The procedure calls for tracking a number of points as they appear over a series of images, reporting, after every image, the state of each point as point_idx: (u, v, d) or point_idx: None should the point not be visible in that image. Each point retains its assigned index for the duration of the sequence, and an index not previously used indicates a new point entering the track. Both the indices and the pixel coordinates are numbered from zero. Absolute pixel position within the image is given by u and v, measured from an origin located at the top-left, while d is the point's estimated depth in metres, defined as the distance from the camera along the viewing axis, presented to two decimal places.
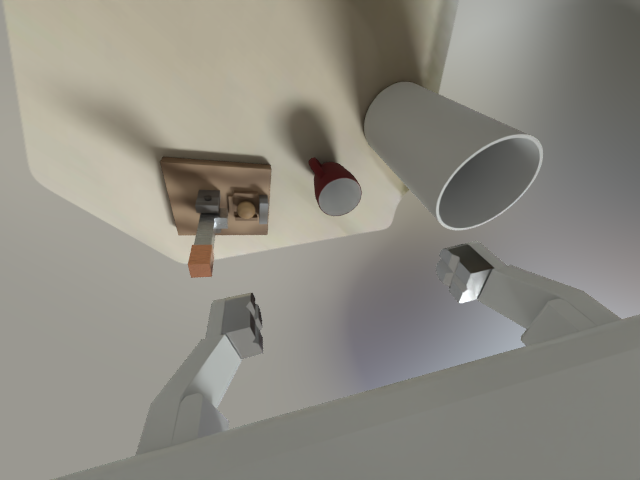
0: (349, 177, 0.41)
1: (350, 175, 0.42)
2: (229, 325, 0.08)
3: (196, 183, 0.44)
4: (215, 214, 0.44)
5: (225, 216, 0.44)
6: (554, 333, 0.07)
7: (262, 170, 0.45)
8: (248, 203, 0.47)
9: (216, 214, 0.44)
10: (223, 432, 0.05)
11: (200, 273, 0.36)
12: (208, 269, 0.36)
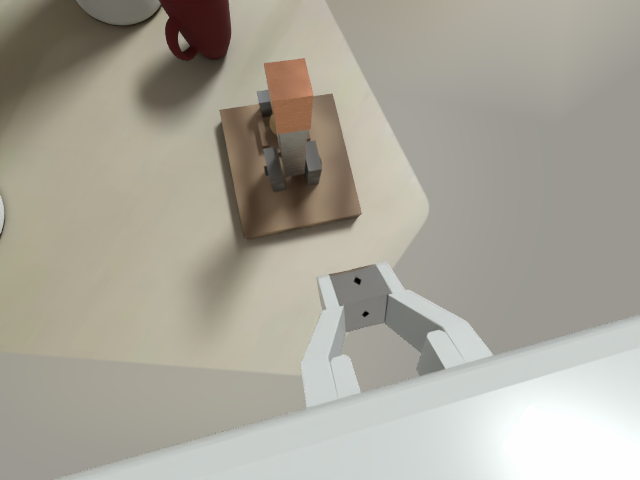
0: None
1: None
2: (345, 298, 0.09)
3: (264, 195, 0.33)
4: (280, 151, 0.28)
5: (277, 134, 0.28)
6: (432, 367, 0.07)
7: (223, 120, 0.33)
8: (269, 122, 0.32)
9: None
10: (223, 432, 0.05)
11: (298, 78, 0.17)
12: (283, 65, 0.17)
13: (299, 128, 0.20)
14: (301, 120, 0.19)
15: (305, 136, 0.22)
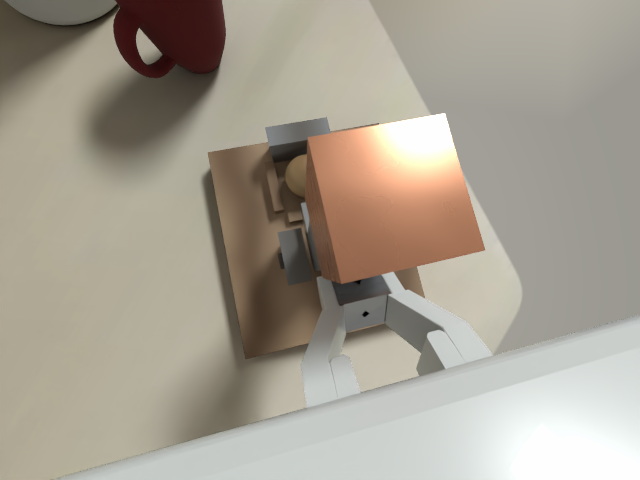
0: None
1: None
2: (345, 298, 0.09)
3: (277, 288, 0.21)
4: (307, 235, 0.17)
5: (301, 209, 0.16)
6: (432, 367, 0.07)
7: (213, 169, 0.22)
8: None
9: (306, 232, 0.17)
10: (223, 432, 0.05)
11: (428, 188, 0.05)
12: (374, 141, 0.05)
13: None
14: None
15: None
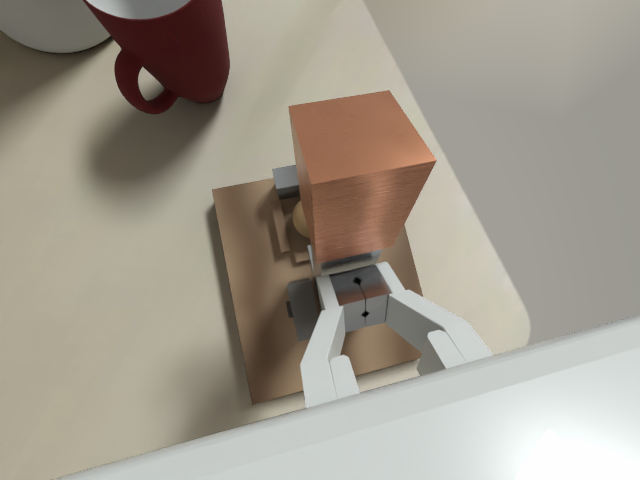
0: None
1: None
2: (344, 298, 0.09)
3: (284, 330, 0.20)
4: (314, 277, 0.17)
5: (308, 252, 0.17)
6: (433, 367, 0.07)
7: (218, 206, 0.21)
8: (293, 215, 0.20)
9: (313, 275, 0.17)
10: (223, 432, 0.05)
11: (381, 126, 0.06)
12: (336, 105, 0.06)
13: (370, 247, 0.08)
14: (379, 230, 0.08)
15: (374, 259, 0.10)
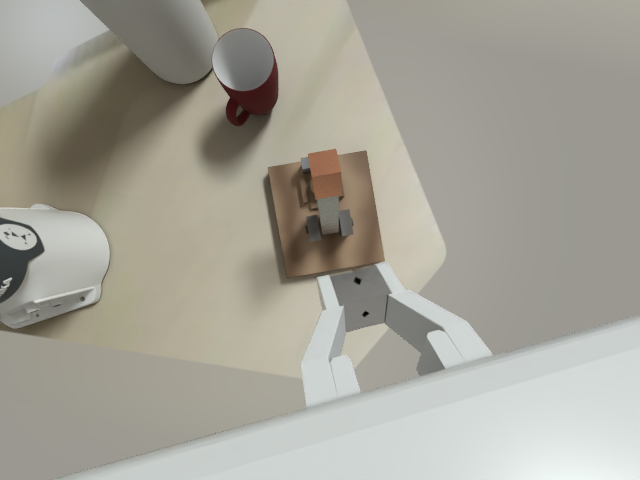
0: (212, 60, 0.31)
1: None
2: (345, 298, 0.09)
3: (304, 243, 0.39)
4: None
5: None
6: (432, 367, 0.07)
7: (270, 177, 0.39)
8: (310, 183, 0.37)
9: None
10: (223, 432, 0.05)
11: (330, 161, 0.24)
12: (320, 154, 0.24)
13: (332, 194, 0.26)
14: (333, 189, 0.25)
15: (337, 200, 0.28)
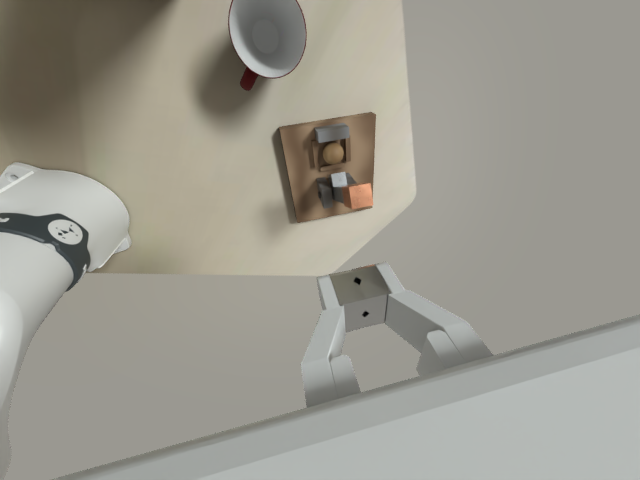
0: (229, 27, 0.25)
1: None
2: (345, 298, 0.09)
3: (312, 198, 0.47)
4: (331, 186, 0.42)
5: (330, 175, 0.41)
6: (432, 367, 0.07)
7: (283, 140, 0.40)
8: (323, 153, 0.41)
9: (331, 185, 0.42)
10: (223, 432, 0.05)
11: (366, 195, 0.31)
12: (358, 187, 0.31)
13: None
14: None
15: None
